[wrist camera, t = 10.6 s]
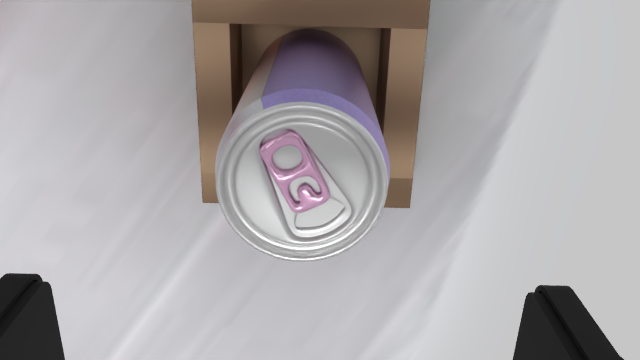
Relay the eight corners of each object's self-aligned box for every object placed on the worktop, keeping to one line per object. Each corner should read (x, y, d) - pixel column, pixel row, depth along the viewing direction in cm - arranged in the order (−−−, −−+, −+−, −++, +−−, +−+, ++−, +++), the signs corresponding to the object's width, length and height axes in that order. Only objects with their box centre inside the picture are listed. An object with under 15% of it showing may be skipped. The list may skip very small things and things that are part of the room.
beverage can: (334, 7, 31) (347, 64, 17) (378, 105, 33) (422, 226, 19) (237, 56, 32) (174, 147, 18) (286, 147, 34) (263, 292, 20)
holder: (209, -23, 31) (190, -16, 26) (414, -17, 31) (431, -9, 26) (218, 167, 35) (202, 202, 30) (397, 172, 35) (409, 207, 31)
